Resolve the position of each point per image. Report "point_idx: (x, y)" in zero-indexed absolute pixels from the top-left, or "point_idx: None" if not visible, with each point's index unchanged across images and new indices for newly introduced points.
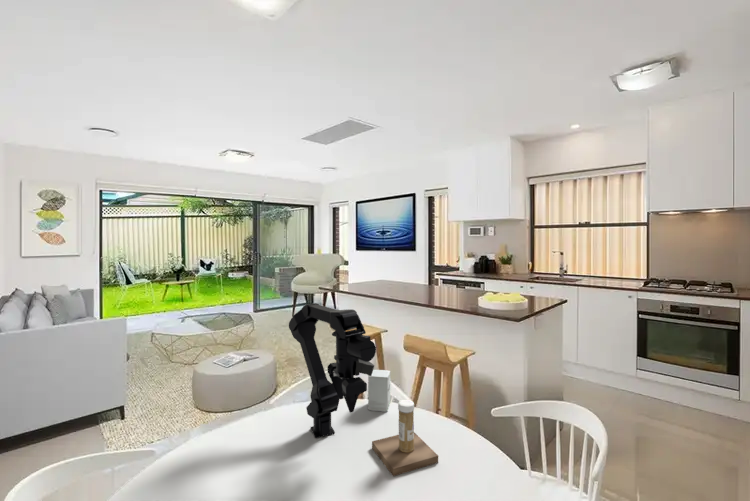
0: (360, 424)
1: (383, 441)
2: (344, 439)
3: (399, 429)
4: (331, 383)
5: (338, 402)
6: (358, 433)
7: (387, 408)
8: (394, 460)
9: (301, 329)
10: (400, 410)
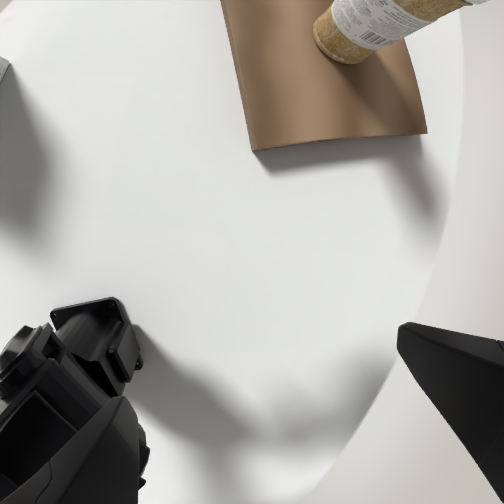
0: (56, 176)
1: (271, 98)
2: (160, 260)
3: (397, 34)
4: (11, 482)
5: (38, 345)
6: (122, 192)
7: (2, 58)
8: (396, 109)
9: None
10: (479, 3)
